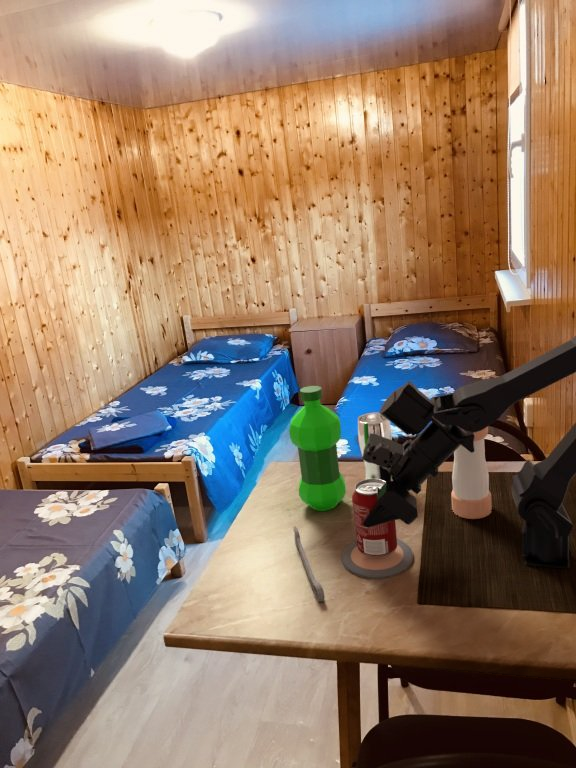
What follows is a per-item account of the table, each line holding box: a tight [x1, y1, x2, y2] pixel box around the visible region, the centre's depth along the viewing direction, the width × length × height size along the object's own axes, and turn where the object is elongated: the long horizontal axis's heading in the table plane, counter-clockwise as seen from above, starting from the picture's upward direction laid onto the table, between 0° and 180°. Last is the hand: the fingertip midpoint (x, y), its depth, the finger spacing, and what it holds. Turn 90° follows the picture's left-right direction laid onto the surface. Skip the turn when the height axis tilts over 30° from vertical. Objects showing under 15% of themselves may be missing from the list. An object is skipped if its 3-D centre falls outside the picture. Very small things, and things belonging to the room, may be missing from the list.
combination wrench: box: [293, 525, 325, 603], centre depth 105 cm, size 4×1×20 cm
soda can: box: [351, 479, 398, 558], centre depth 104 cm, size 7×7×12 cm
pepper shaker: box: [450, 426, 493, 520], centre depth 115 cm, size 7×7×19 cm
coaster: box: [341, 538, 414, 579], centre depth 106 cm, size 12×12×1 cm
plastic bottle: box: [288, 385, 347, 512], centre depth 123 cm, size 10×10×25 cm
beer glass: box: [357, 411, 393, 480], centre depth 131 cm, size 7×7×15 cm
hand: (366, 514), depth 104 cm, fingers closed on soda can, 6 cm apart
